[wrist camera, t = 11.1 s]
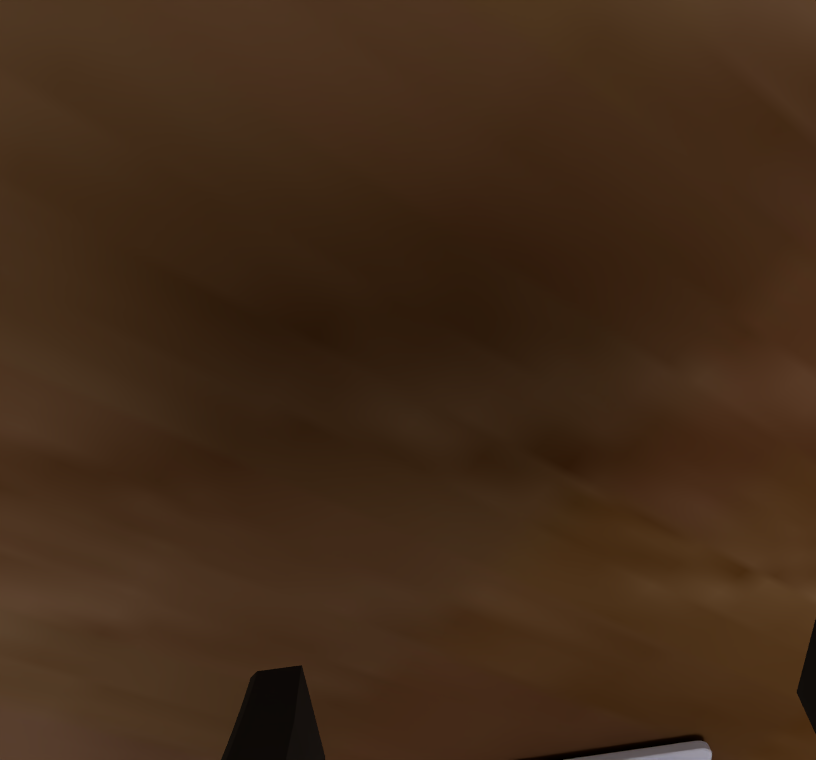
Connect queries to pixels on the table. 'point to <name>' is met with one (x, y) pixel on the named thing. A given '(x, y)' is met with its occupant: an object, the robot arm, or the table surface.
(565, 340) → the table surface
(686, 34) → the table surface
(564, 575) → the table surface
